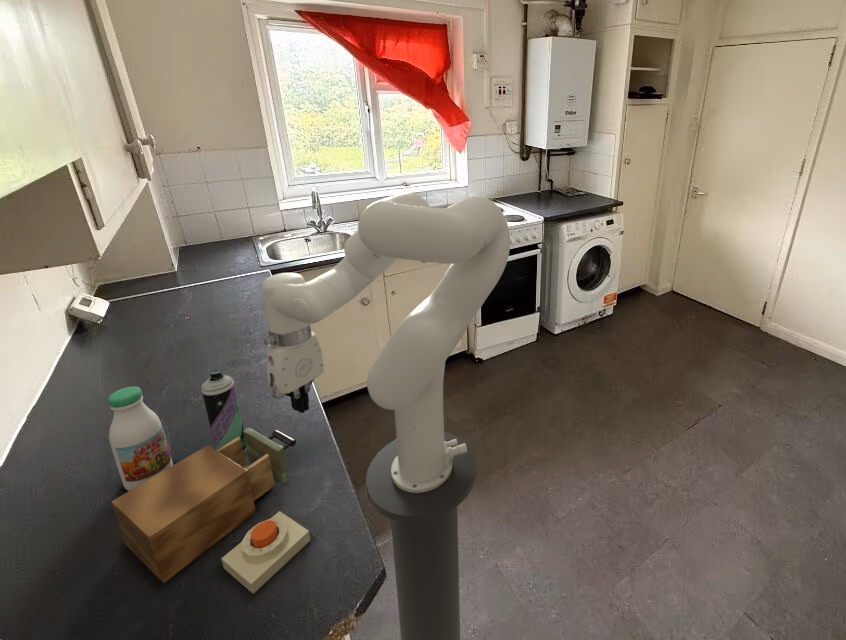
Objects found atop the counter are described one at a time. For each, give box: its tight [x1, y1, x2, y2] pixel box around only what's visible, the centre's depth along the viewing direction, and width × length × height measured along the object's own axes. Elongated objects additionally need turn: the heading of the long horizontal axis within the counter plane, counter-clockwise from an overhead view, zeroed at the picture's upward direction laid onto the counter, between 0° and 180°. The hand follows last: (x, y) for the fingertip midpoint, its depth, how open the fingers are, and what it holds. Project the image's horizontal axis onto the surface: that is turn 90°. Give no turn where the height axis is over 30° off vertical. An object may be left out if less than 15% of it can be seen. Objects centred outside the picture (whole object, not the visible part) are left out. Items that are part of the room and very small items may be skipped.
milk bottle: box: [107, 386, 174, 492], centre depth 82 cm, size 8×8×20 cm
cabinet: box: [111, 444, 257, 584], centre depth 73 cm, size 15×13×10 cm
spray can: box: [201, 369, 247, 454], centre depth 89 cm, size 6×6×20 cm
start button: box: [251, 519, 278, 548], centre depth 69 cm, size 4×4×2 cm
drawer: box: [217, 427, 297, 502], centre depth 81 cm, size 18×11×8 cm, turn 151°
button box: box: [221, 510, 311, 595], centre depth 70 cm, size 10×8×4 cm
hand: (301, 409), depth 91 cm, fingers closed
